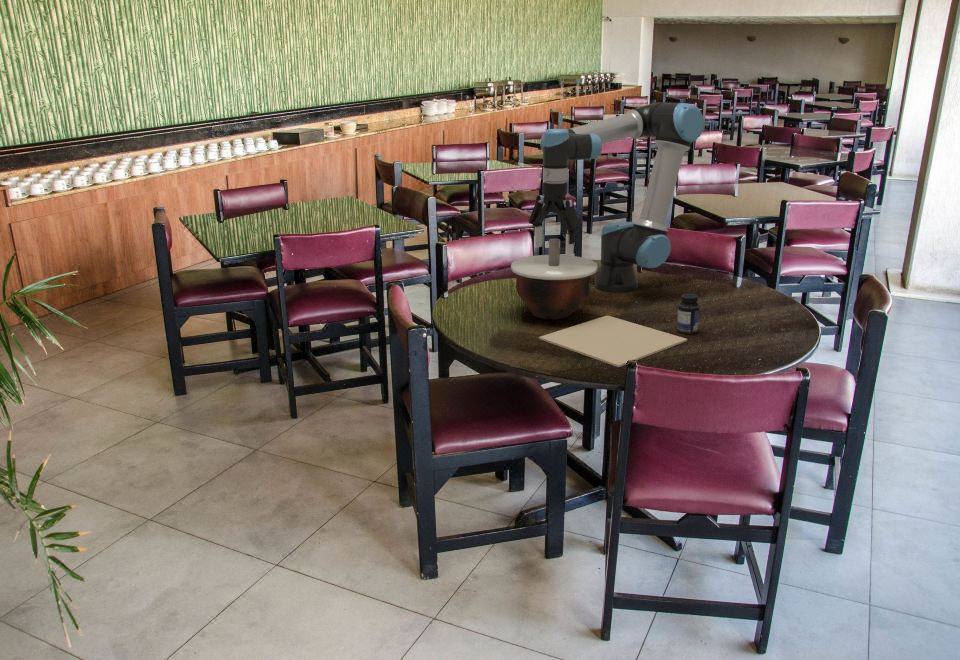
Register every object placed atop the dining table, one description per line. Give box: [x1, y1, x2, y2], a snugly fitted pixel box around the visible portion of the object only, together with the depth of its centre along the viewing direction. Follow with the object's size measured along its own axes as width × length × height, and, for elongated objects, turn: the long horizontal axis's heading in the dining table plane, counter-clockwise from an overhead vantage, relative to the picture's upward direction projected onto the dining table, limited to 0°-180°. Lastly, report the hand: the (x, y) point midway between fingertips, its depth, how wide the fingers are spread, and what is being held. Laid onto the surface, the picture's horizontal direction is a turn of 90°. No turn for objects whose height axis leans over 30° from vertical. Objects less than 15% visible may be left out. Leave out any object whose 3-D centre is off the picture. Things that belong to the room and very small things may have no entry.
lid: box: [510, 238, 598, 280], centre depth 238 cm, size 27×27×9 cm
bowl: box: [515, 274, 592, 321], centre depth 242 cm, size 25×25×15 cm
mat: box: [538, 315, 688, 368], centre depth 221 cm, size 30×30×1 cm
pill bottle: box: [676, 293, 700, 335], centre depth 225 cm, size 6×6×11 cm
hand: (553, 250), depth 238 cm, fingers open, 13 cm apart
